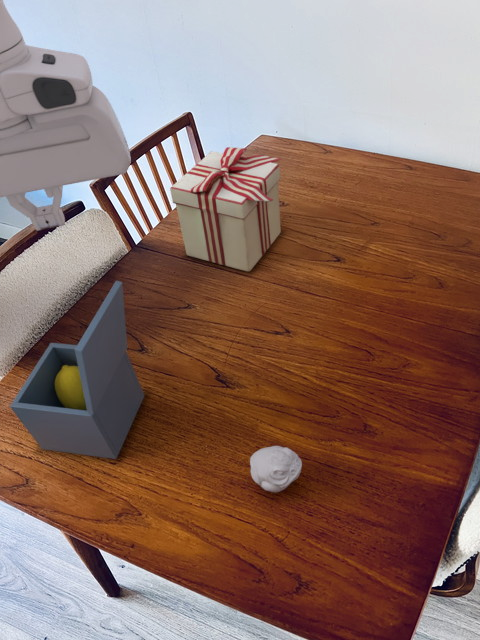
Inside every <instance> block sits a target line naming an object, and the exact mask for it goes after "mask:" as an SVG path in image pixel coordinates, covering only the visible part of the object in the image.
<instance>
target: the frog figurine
mask: <svg viewBox="0 0 480 640" xmlns="http://www.w3.org/2000/svg"><path fill="white" fill-rule="evenodd" d="M249 465H250V475H251V478H252V480H253V481H254V482H255V483H256V484H257V485H258V486H260V488H261V489H263V490H264V491H266V492H271V493H279V492H282V491H284V490H286V489H287V488H288V487H289V486H290V484H291V483H293V482H294V481H296V480H297V479H298V478H299V477H300V474H301V473H302V466H303V462H302V459H301V458H300V457H299V455H298V454H297V453H296V452H295V451H293V450H292V449H291V448H289V447H287V446H286V447H285V446H284V447H283V446H281V445H272V446H267V447H263V448H260V449H258V450H257V451H255V452H253V454H252V455H251V456H250V459H249Z"/></svg>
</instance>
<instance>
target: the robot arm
mask: <svg viewBox="0 0 480 640" xmlns="http://www.w3.org/2000/svg"><path fill="white" fill-rule="evenodd" d="M93 84H94V83H93V76H92V72H91V69H90V65H89V63H88V61H87V59H86V58H85V57H84V56H83V55H81V54H77V53H73V52H67V51H61V50H56V49H49V48H44V47H43V48H42V47H37V46H33V45H28V44H26V41H25V39H24V37H23V33H22V32H21V30H20V28H19V26H18V25H17V23H16V22H15V20H14V19H13V18H12V16H11V14H10V13H9V10H8V9H7V7H6V4H5V2H4V0H0V198H6V200H7V202H8V204H9V205H10V206H11V207H12V208H14V209H15V210H16V211H18V212H19V213H21V214H22V215H23V216H25V217H26V218H28V219H29V220H30V222H31V224H32V226H33V228H34V230H35V231H36V232H37V231H43V230H47V229H51V228H52V229H53V228H58V227H63V226H65V224H66V218H65V215H64V212H63V210H62V207H61V203H62V197H63V189H64V186H68V185H72V184H78V183H84V182H89V181H95V180H99V179H104V178H111V177H116V176H120V175H125V174H126V173H127V172H128V170H129V168H130V165H131V163H132V162H131V161H132V160H131V159H132V158H131V151H130V148H129V144H128V140H127V139H126V136H125V133H124V131H123V128H122V126H121V123H120V121H119V118H118V115H117V114H116V111H115V109H114V108H113V106H112V104H111V102H110V101H109V99H108V97H107V96H106V94H105V93H104V92H103V91H102V90H101V89H99V88H98V87H96V86H95V85H93ZM42 190H43V191H44V192H45V194H46V196H47V198H49V199H50V198H52V204H48V205H43V206H36V205H35V203H33V202H31V201H30V200H29V199H28V198H27V197H26V194H27V193H31V192H37V191H42Z"/></svg>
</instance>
